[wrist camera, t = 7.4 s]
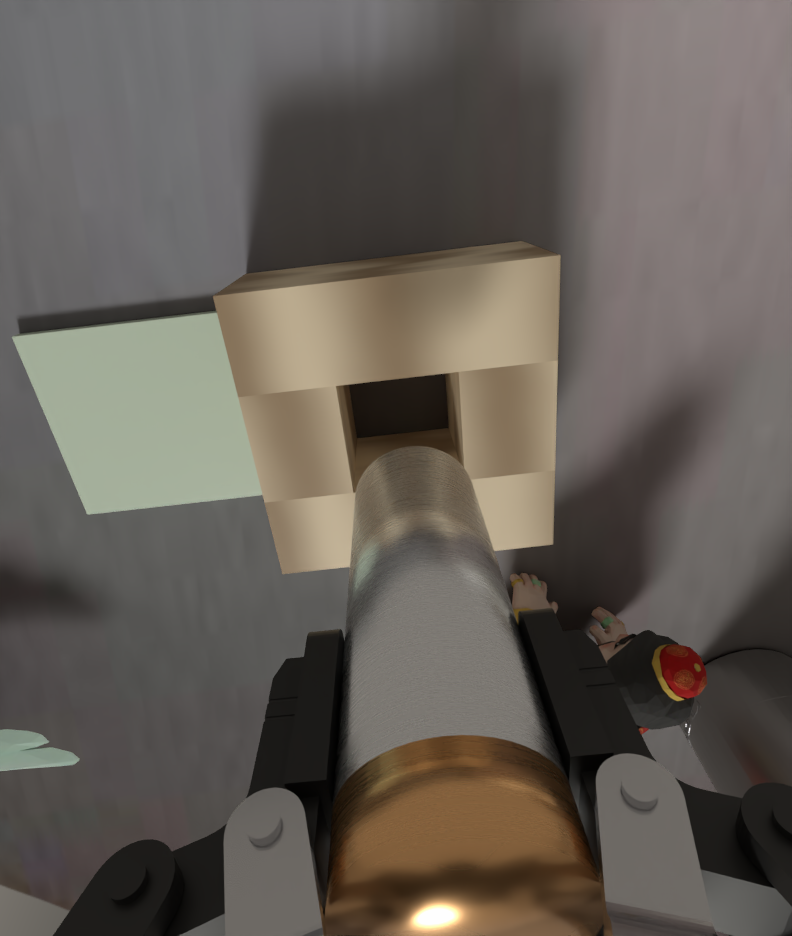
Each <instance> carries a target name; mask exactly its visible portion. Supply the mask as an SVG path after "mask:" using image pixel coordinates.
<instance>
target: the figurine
mask: <svg viewBox="0 0 792 936" xmlns="http://www.w3.org/2000/svg"><path fill="white" fill-rule="evenodd" d="M510 580H511V582H512V583H511V585H512V587H513V588H514V590H513V600H512V608H513V611H514V614H515V617H516V620H517V623H518V613H519V611H526V610H536V609H546V608H552V609H553V610H554V611H555V614H556V612H557V609H558V605H557V603H556V602H554V601H553V602H550V603H548V601H547V599H546V595H547V585H546V583H545V582H544V581H538V578H537V577H536V576H535V575H529V576H528V574H526V573H521V574H520V575H519V576H518V575H517V574H515V573H514V574H511V576H510ZM591 615H592V616H593V617H595V618H596V619H597V620H598V621H599V622H600V623H601V626H602V627H603V629H605V631H603V630H601V629H600V628H599V627H598V626H597V625H593V626H590V630H589V632H590V633H591V634H592V635H593V636H594V637H595V639H596V641H597V643H598V646H599V648H600V651H601V653H602V655H603V657H604V659H605V661H606V663H607V665H608V669H609V670H610V671H611V673H612V675H613V677H614V680H615V682H616V686H617V687H618V688H619V690H620V692H621V694H622V696H623V698H624V700H625V702H626V704H627V706H628V709H629V711H630V713H631V715H632V717H633V719H634V721H635V723H636V725H637V727H638V729H639V731H640V733H641V734H643V733H644V732H646V731H647V730H648V729H661V728H666V727H671V726H676V725H681V724H682V723H683V722H684V721H686V720H687V719H688V718H689V716H690V713H691V710H692V707H693V704H694V697H695V696H697V695H699V694H700V693H701V692H702V691H703V689H704V688H705V686H706V685H707V675H706V670H705V667H704V664H703V662H702V659H701V657H700V656H699V655H698V654H697V653H696V652H694V651H693V650H692V649H691V648H690V647H686V646H681V645H679V644H678V643H676V642H675V641H673V640H672V639H670V638H669V637H665V636H659V635H656V634H655V633H654V632H652V631H650V630H647V631H643V632H641V633H640V634H638V635H635V634H631V635H627V632H626V629H625V626H624V624H623V623H622V621H620V620H619V619H618V618H617V617H616V616H614V615H613V614H612V613H611V612H609V611H607V610H605V609H603V608H602V607H597V608H596V609H594V610H593V612H592V614H591Z"/></svg>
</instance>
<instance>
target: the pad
mask: <svg viewBox="0 0 792 936" xmlns="http://www.w3.org/2000/svg"><path fill="white" fill-rule="evenodd" d="M12 338H13V341H14V343H15V345H16V348H17V350H18V352H19V355H20V357H21V359H22V362H23V364H24V367H25V369H26V371H27V374H28V376H29V378H30V381H31V383H32V385H33V388H34V390H35V392H36V395H37V397H38V399H39V402H40V404H41V407H42V409H43V411H44V414H45V416H46V418H47V421H48V423H49V425H50V428H51V430H52V432H53V435H54V437H55V439H56V442H57V444H58V446H59V449H60V451H61V454H62V456H63V458H64V461H65V463H66V465H67V468H68V470H69V472H70V475H71V477H72V479H73V482H74V484H75V486H76V489H77V491H78V494H79V496H80V498H81V501H82V503H83V505H84V508H85V510H86V512H87V515H88V514H97V513H106V512H115V511H124V510H133V509H142V508H151V507H160V506H169V505H178V504H187V503H196V502H205V501H213V500H222V499H231V498H240V497H249V496H258V495H263V494H262V490H261V486H260V482H259V478H258V474H257V470H256V466H255V462H254V458H253V454H252V450H251V446H250V443H249V439H248V435H247V431H246V427H245V423H244V419H243V415H242V411H241V407H240V403H239V399H238V395H237V391H236V387H235V383H234V379H233V375H232V371H231V367H230V363H229V359H228V355H227V351H226V347H225V343H224V339H223V335H222V331H221V327H220V323H219V319H218V315H217V311H209V312H200V313H192V314H183V315H175V316H166V317H158V318H149V319H141V320H132V321H124V322H115V323H107V324H98V325H90V326H81V327H73V328H64V329H56V330H47V331H39V332H30V333H22V334H17V335H15V336H13V337H12Z"/></svg>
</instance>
